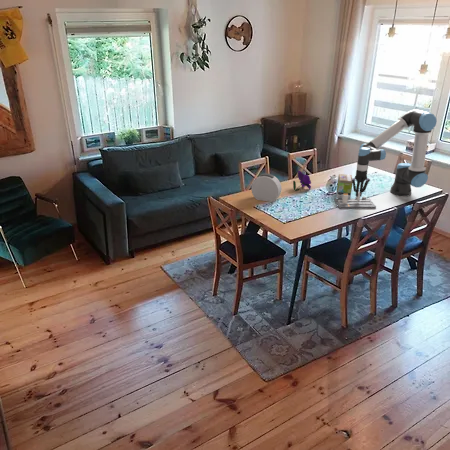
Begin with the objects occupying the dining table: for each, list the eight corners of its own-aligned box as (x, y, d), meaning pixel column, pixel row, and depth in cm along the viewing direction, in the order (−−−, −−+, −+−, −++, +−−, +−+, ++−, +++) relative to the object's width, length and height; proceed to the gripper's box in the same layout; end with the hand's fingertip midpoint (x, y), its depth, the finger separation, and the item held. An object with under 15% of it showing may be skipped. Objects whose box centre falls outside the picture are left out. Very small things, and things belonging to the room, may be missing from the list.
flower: (303, 199, 331) (315, 188, 334) (298, 185, 321) (310, 174, 325) (291, 193, 342) (302, 183, 345) (285, 180, 332) (297, 169, 335)
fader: (346, 201, 309) (347, 192, 306) (347, 203, 306) (348, 194, 303) (341, 201, 309) (343, 192, 306) (342, 203, 306) (344, 194, 303)
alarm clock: (281, 199, 318) (282, 174, 309) (277, 203, 312) (279, 177, 303) (254, 195, 326) (255, 170, 317) (251, 198, 320) (251, 173, 311)
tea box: (350, 199, 317) (353, 181, 310) (336, 198, 319) (339, 180, 312) (349, 192, 330) (351, 174, 324) (336, 191, 332) (338, 173, 325)
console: (369, 200, 315) (370, 196, 313) (375, 208, 301) (376, 204, 300) (334, 200, 315) (335, 196, 314) (339, 208, 301) (339, 204, 300)
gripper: (369, 167, 300) (365, 198, 310) (351, 168, 300) (347, 198, 310) (372, 171, 293) (368, 202, 303) (354, 171, 293) (350, 202, 303)
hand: (357, 200), depth 307 cm, fingers closed
